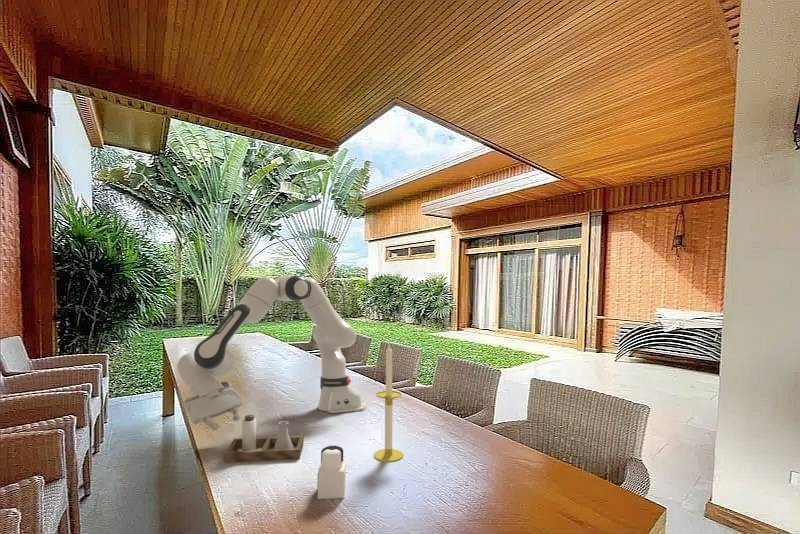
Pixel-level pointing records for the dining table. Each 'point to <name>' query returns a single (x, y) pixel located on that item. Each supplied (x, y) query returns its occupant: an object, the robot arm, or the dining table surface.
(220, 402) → the robot arm
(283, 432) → the flask
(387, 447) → the candle
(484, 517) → the dining table surface
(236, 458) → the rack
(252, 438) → the white capped tube
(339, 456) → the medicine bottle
